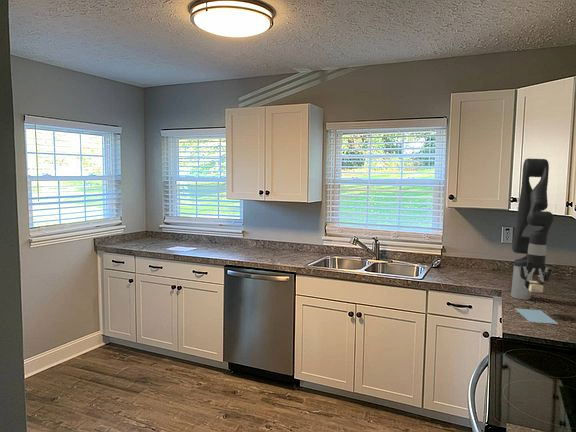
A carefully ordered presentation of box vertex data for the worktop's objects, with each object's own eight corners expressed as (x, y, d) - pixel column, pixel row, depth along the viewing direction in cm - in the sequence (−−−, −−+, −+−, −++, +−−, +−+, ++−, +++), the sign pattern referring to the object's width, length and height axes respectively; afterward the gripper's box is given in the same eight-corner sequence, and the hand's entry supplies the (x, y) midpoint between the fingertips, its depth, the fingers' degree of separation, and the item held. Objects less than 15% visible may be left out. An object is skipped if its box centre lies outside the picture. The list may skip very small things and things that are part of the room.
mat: (514, 309, 215) (514, 308, 215) (540, 311, 213) (540, 310, 213) (529, 322, 196) (529, 321, 196) (558, 324, 194) (558, 324, 194)
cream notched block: (524, 286, 213) (524, 280, 213) (535, 287, 212) (536, 281, 212) (531, 291, 205) (531, 285, 204) (542, 292, 204) (543, 285, 203)
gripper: (550, 252, 209) (546, 287, 211) (517, 251, 212) (514, 285, 213) (556, 255, 202) (553, 292, 204) (523, 253, 204) (519, 289, 206)
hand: (533, 288), depth 208 cm, fingers closed on cream notched block, 5 cm apart
